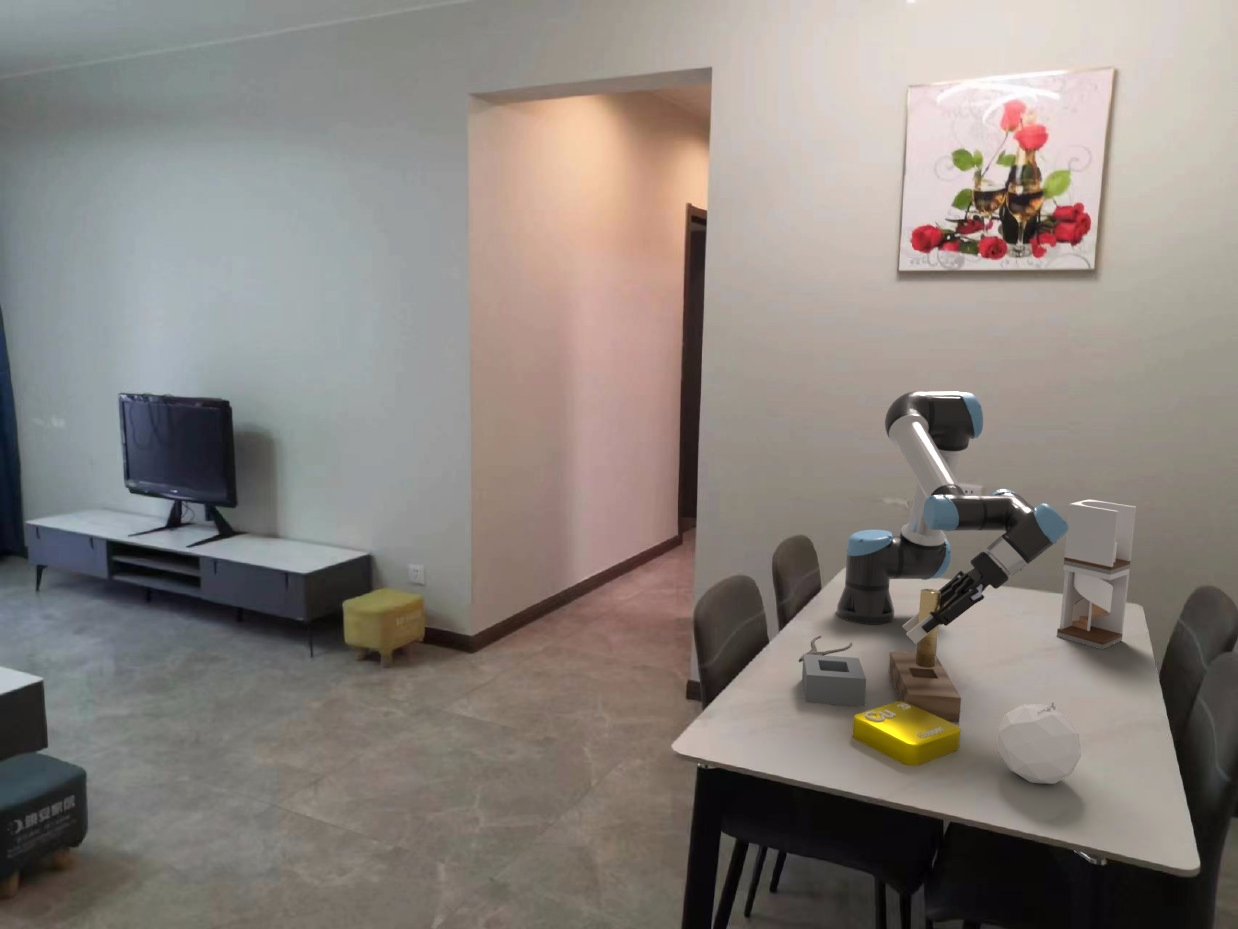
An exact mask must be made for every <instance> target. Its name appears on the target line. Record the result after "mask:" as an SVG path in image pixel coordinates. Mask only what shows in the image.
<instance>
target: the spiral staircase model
mask: <svg viewBox="0 0 1238 929" xmlns="http://www.w3.org/2000/svg"><path fill="white" fill-rule="evenodd" d="M1136 513H1137V506H1134V505H1126V504H1121V503H1120V504H1119V503H1115V502H1107V501H1101V500H1097V499H1086V500H1084V499H1083V500H1081V501H1075V502H1072V503H1069V508H1068V517H1067V524H1068V526H1069V530H1068V532H1067V533H1066V538H1065V546H1064V547H1065V548H1064V556H1063V557H1064V558H1063V568H1062V570H1063V571H1064V580H1063V589H1062V591H1063V592H1062V603H1061V609H1060V610H1061V612H1060V624H1059V628H1057V631H1056V637H1058V638H1060V637H1062V638H1061V639H1063V640H1067V641H1071V640H1072V642H1074V641H1075V642H1076V643H1078V644H1081V643H1084V644H1083V645H1085V644H1086V646H1089V647H1093V648H1095V647H1097V649H1099V648H1100V650H1105V649H1107V648H1109V647H1111V645H1112V646H1114V645H1115V644H1114V643H1116V644H1118V643H1120V641H1121V640H1122V641H1123V634H1124V633H1123V632H1124V625H1125V615H1126V607H1127V606H1126V605H1127V595H1128V588H1129V579H1130V569H1131V561H1132V552H1133V551H1132V550H1133V541H1134V533H1135V522H1136V515H1137V514H1136ZM1122 641H1121V642H1122ZM1075 642H1074V643H1075ZM1113 644H1114V645H1113ZM1106 647H1107V648H1106ZM1104 648H1105V649H1104Z"/></svg>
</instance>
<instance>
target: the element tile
mask: <svg viewBox="0 0 1238 929" xmlns="http://www.w3.org/2000/svg"><path fill="white" fill-rule="evenodd" d="M961 729H962V728H961V727H960V726H959V725H957V724H955V723H953V722H952V721H947V720H944V719H942V718H940V717H938V716H936V715H933V714H931V713H929V712H927V711H924V710H922V709H920V708H918V707H916V706H913V705H911V704H909V703H906V702H904V701H900V700H899V701H894V702H891V703H888V704H883V705H881V706H878V707H875V708H872V709H868V710H865V711H861V712H858V713H856V714H854V715H853V720H852V737H853V738H854V739H855V740H857V741H858V742H860V743H862V744H864V745H866V746H868V747H870V748H871V749H873V750H876V751H877V752H879V753H882V754H883V755H885V756H887V757H889V758H890V759H892V760H895V761H896V762H898V763H900V764H902V765H905V766H908V767H910V766H911V767H915V766H916V767H917V766H920V765H923V764H926V763H928V762H930V761H934V760H936V759H938V758H941V757H943V756H946V755H949V754H952V753H955V752H956V751H959V749H960V742H961V731H962V730H961Z"/></svg>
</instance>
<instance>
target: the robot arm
mask: <svg viewBox="0 0 1238 929" xmlns="http://www.w3.org/2000/svg"><path fill="white" fill-rule="evenodd" d="M983 426H984V413H983V409H982V405H981V402H980V400H979V399H978V397H977V396H976V395H975V394H973V393H972V392H968V391H967V392H965V391H964V392H963V391H957V390H954V391H930V390H929V391H928V390H927V391H923V390H922V391H921V390H914V391H909V392H907V393H904V394H902V395H900V396H899V397H898V398H896V399H895V400H894V401H893V402H892V403H891V405H890V406H889V408H888V409H887V412H886V413H885V419H884V428H885V431H886V435H887V436H888V438H889V441H890V442H891V444H892V445H894V446H896V447H898V448H899V451H900V452H901V454H902V456H903V457H904V460H905V461H906V463H907V466H908V467H909V468H910V470H911V472H912V474H913V476H914V477H915V480H916V486H915V492H914V495H913V501H912V506H911V510H910V514H909V515H910V516H909V520H908V523H906V524H903V526H902V527H901V529H900V534H899V536H898V535H894V534H893V533H892V532H891V531H889V530H885V529H867V530H866V529H865V530H859V531H856V532H854V533H852V534H850V536H849V537H848V538H847V539H848V540H847V546H846V547H847V548H846V551H845V553H846V561H845V562H846V563H845V579H844V580H845V581H844V582H845V583H844V588H843V591H842V593H841V596H840V598H839V599H838V603H837V605H836V614H837V616H838V617H840V618H842V619H844V620H847V621H850V622H854V623H859V624H866V625H881V624H888V623H890V622H893V620H894V619H895V608H894V604H893V600H892V596H891V593H890V582H891V580H923V581H924V580H925V581H927V580H933V579H940V578H941V577H942V576H944V575H945V574H946V572H947V571H948V570H949V566H950V564H951V558H952V555H951V552H952V549H951V545H950V541H949V540H948V539H947V536H946V534H945V532H952V531H953V532H954V531H955V532H957V531H959V532H961V531H967V532H968V531H981V532H982V531H989V532H990V531H991V532H993V531H994V532H995V531H1000V532H1003V531H1004V532H1005V533H1003V534H1002V535H1000V536H998V537H997V538H996V539H995V540H994V541H992V542H991V543H990V544H989V545H988V546H986V547H985V550H986V551H981V552H979V554H977V555H976V556H974V557H973V558H972V559H971V560H970V564H971V566H972V567H973V569H971V570H969V571H967V572H963V571H962V570H960V571H958V572H957V573H956V574H955V576H954V577H953V578H952V579H951V580H950V581H948V582H947V583H945V584H944V586H942V587H941V588H940V589H938V591H940V592H941V598H940V609H938V610H937V611H936V612H935V613H934V612H932V611H931V612H930V615H928V616H927V617H926V618H925V619H923V620H922V621H921V622H920V623H918V621H919V612H917V613H916V614H915V615H914V616H912V618H910V619H909V620H907V621H906V622H905V623H904V624H902V628H903V629H904V630H905V631H906V633H905V634H906V636H907V637H908V638H909V639H910V640H911V641H912V642H913V643H914V644H915V645H917V642H919V641H920V640H921V639H922V638H924V637H925V636H926V635H927V634H929V633H930V632H931V631H932V630H934V629H935V628H936V627H937V626H938V627H939V626H940V625H941V626H942V625H943V626H945V627H947V626H949V624H950V623H952V622H954V621H955V620H956V619H957V618H959V617H960V616H962V615H963V614H964V613H965V612H967V611H968V610H969V609H970V608H972V607H973V606H974V605H976V604H977V603H979V602H981V601H982V600H984V599H985V596H984V594H983V592H984V591H985V590H986V589H987V588H988V586H991V587H992V588H993V589H995V590H997V589H998V588H1000V587H1001V586H1003V585H1005V583H1006V582H1008V581H1009V576H1012V577H1013V576H1015V575H1016V574H1018V572H1022V571H1024V570H1025V568H1026V566H1027V565H1029V564H1030V563H1031V562H1032V561H1034V560H1035V559H1036V558H1037V557H1039V556H1040V555H1041V554H1043V553H1044V552H1045V551H1047V550H1048V549H1049V548H1051V547H1052V546H1053V545H1054V544H1057V543H1058V541H1059V540H1060V539H1062V538H1063V537H1064V535H1067V532H1068V530H1069V526H1068V521H1066V520H1065V519H1064V518H1063V517H1062V516H1061V514H1059V513H1058V512H1057V510H1055V509H1054V508H1053V507H1052V506H1051V505H1049V503H1041V504H1039V505H1037V506H1036V507H1034V506H1032V505H1031V504H1030V503H1029V502H1028V501H1026V499H1025V498H1024V497H1023V496H1021V495H1019V494H1018V493H1016V492H1015V491H1013V490H1011V489H1008V488H999V489H997V490H995V491H993V492H991V493H990V494H989V495H973V494H972V495H971V494H969V495H968V494H966V493H965V492H964V491H963V488H962V487H961V485H960V483H959V482H958V480H957V478H956V477H955V475H956V471H957V466H958V463H959V457H960V454H961V453H963V452H964V451H966V450H968V447H969V442H970V440H974V439H977V438H978V437H979V436H981V434H982V432H983V429H984V428H983ZM893 535H894V536H893Z"/></svg>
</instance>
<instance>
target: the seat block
mask: <svg viewBox="0 0 1238 929" xmlns="http://www.w3.org/2000/svg"><path fill="white" fill-rule="evenodd" d="M802 656H803V661H802V671H801V672H802V673H801V681H802V682H801V683H802V689H803V695H804V700H805V703H813V704H815V703H816V704H827V705H828V704H829V705H840V706H841V705H842V706H855V707H856V706H857V707H865V701H866V687H867V686H866V683H867V682H866V681H867V678H866V675H865V672H864V670H863V666H862V663H861V660H860V658H859V657H854V656H853V657H852V656H851V657H850V656H837V655H809V654H806V653H805V654H804V653H803V654H802Z"/></svg>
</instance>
